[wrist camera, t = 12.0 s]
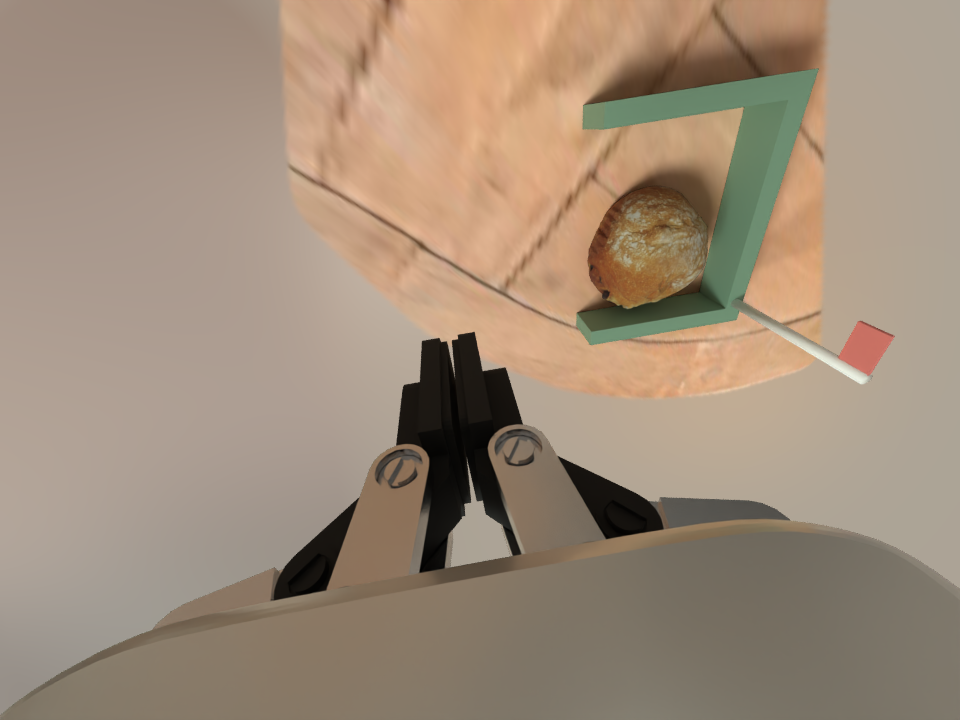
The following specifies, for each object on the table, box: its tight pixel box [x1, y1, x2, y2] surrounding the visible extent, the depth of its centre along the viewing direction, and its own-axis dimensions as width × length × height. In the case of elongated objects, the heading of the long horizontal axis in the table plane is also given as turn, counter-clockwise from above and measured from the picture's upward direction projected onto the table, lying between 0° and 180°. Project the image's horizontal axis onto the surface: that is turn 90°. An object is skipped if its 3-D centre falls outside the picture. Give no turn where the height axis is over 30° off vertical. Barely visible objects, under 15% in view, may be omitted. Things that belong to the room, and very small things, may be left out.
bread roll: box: [588, 186, 708, 309], centre depth 31 cm, size 10×10×8 cm
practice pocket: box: [576, 68, 895, 384], centre depth 25 cm, size 19×14×16 cm
